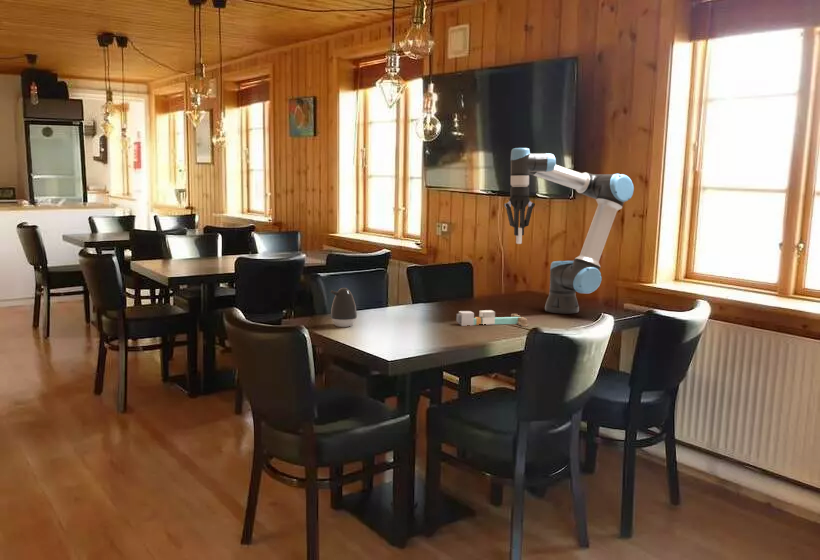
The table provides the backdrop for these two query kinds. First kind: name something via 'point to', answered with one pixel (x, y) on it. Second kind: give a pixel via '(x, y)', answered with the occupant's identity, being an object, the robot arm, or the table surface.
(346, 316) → the pump dispenser
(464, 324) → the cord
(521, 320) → the comb
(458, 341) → the table surface
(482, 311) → the sleeve
